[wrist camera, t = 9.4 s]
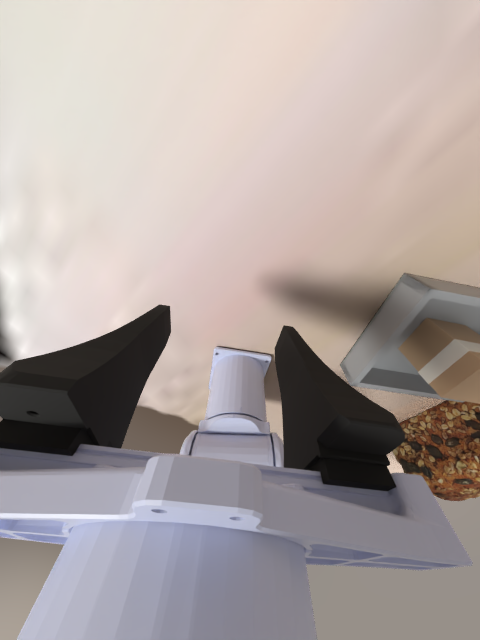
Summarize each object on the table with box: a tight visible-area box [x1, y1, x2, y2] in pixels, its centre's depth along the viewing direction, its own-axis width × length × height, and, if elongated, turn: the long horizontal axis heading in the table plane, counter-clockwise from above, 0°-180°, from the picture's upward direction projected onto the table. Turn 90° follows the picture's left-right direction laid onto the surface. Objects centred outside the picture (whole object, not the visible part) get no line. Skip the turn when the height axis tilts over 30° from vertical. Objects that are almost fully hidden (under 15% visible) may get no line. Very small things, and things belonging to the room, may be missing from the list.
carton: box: [398, 318, 480, 404], centre depth 21 cm, size 5×5×7 cm
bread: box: [393, 400, 480, 501], centre depth 31 cm, size 19×11×10 cm, turn 150°
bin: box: [340, 273, 480, 402], centre depth 23 cm, size 14×16×4 cm
